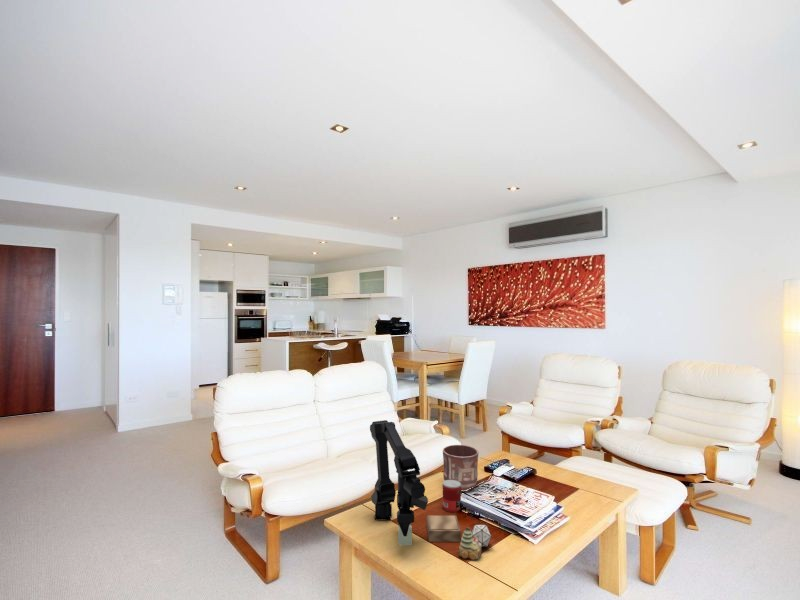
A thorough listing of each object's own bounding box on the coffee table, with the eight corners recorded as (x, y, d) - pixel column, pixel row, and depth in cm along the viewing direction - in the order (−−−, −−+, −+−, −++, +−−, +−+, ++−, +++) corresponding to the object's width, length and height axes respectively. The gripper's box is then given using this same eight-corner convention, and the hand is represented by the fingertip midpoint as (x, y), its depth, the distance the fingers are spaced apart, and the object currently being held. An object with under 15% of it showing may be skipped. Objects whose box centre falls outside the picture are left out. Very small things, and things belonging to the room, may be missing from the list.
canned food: (460, 513, 185) (460, 487, 186) (441, 511, 187) (441, 485, 187) (461, 505, 193) (461, 480, 193) (443, 503, 195) (443, 478, 195)
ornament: (481, 552, 156) (481, 524, 156) (481, 562, 150) (481, 533, 150) (459, 549, 158) (459, 522, 158) (458, 559, 152) (458, 530, 152)
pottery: (434, 486, 213) (434, 449, 213) (457, 476, 225) (458, 442, 225) (462, 498, 200) (463, 459, 200) (485, 488, 212) (486, 451, 212)
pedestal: (428, 541, 163) (428, 530, 163) (426, 525, 175) (426, 514, 175) (460, 541, 163) (460, 530, 163) (456, 525, 175) (456, 514, 175)
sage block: (398, 545, 160) (398, 531, 160) (398, 538, 165) (398, 525, 165) (411, 545, 160) (411, 532, 160) (411, 538, 165) (411, 525, 165)
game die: (483, 559, 158) (486, 546, 152) (463, 544, 162) (465, 531, 156) (495, 539, 164) (498, 526, 158) (475, 525, 168) (478, 512, 162)
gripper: (428, 499, 154) (428, 543, 154) (425, 478, 173) (424, 517, 172) (397, 499, 154) (396, 543, 154) (397, 478, 173) (396, 517, 172)
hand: (404, 529), depth 163 cm, fingers open, 9 cm apart
